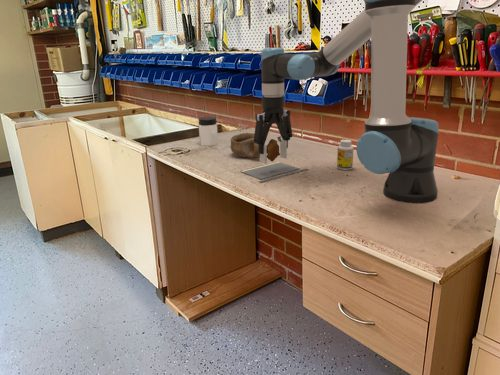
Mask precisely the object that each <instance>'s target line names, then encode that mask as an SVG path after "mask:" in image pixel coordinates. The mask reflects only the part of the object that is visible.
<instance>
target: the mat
mask: <svg viewBox="0 0 500 375" xmlns="http://www.w3.org/2000/svg"><path fill="white" fill-rule="evenodd" d="M298 170H301V169H300V167H296V166H293V165H290V164H287V163H284V162H281V161H275V162H271V163H266V164H263V165H259V166H256V167H251V168H247V169H244V170H240V172H239V173H242V174H244V175H247V176H249V177H253V178H256V179H259V181H262V180H265V179H269V178H273V177H276V176H280V175H284V174H287V173H291V172H295V171H298Z"/></svg>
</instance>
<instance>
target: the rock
mask: <svg viewBox="0 0 500 375" xmlns="http://www.w3.org/2000/svg"><path fill="white" fill-rule="evenodd" d="M281 139H282V137H281V135H280V136H277V140H276V139H273V138H272V139H269V142H268V144H266V145H267V159H268V160H269V161H270V162H271V163H274V161H275V160H276V159H277V158H278V157H280V144H278V142H279V143H280V142H282V141H281Z"/></svg>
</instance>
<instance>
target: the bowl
mask: <svg viewBox="0 0 500 375" xmlns="http://www.w3.org/2000/svg"><path fill="white" fill-rule="evenodd" d="M254 134H255V132H254V133H252V132H251V133H249V132H244V133H240V134H235V135H233V136H232V137H231V138H230V149H231V150H230V151H231V152H232V153H233V154H234V155H236V156H238V157H241V158H259V157H260V154H259V145H258V144H256V143H254V142H253V141H254Z"/></svg>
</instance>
